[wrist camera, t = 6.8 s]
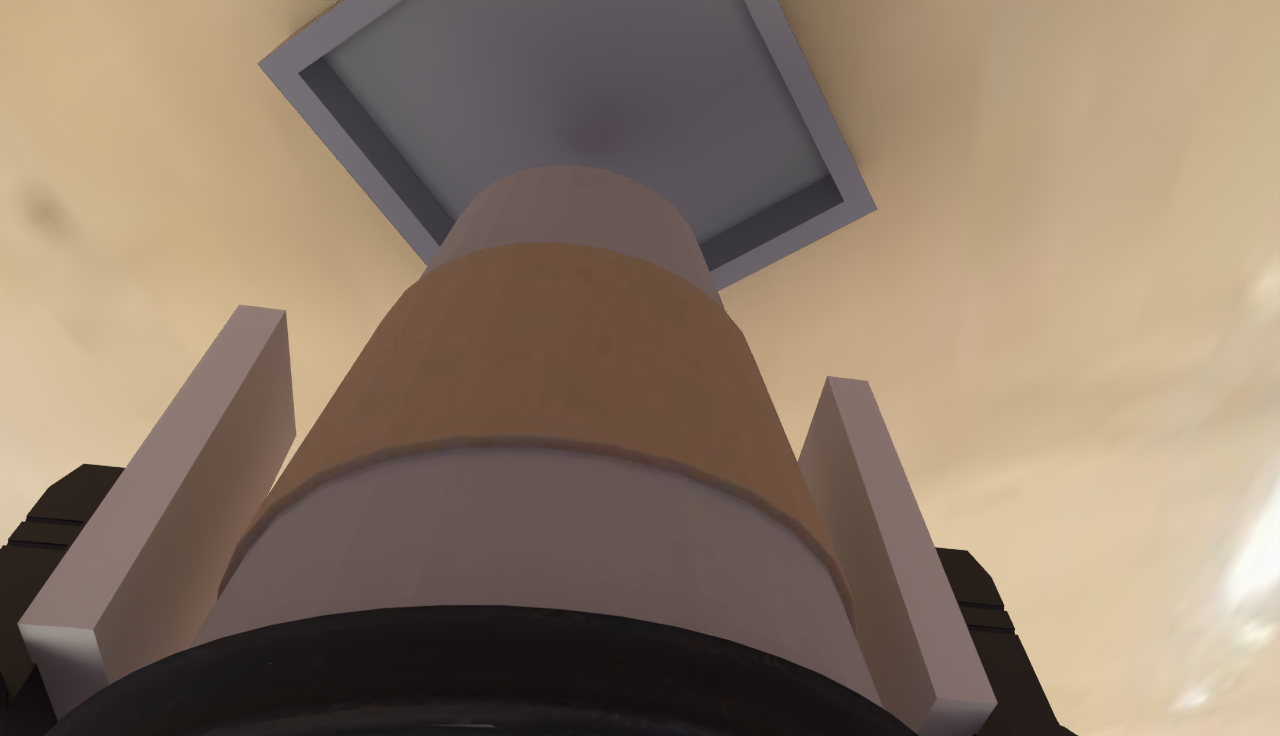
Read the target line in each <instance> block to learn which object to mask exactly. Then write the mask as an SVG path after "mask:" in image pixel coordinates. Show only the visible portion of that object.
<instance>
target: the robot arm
mask: <svg viewBox="0 0 1280 736" xmlns="http://www.w3.org/2000/svg"><path fill="white" fill-rule="evenodd" d="M295 436H296V427H295V415H294V403H293V390H292V378H291V366H290V354H289V342H288V330H287V318H286V310H279V309H270V308H262V307H254V306H246V305H239V306H238V307H237V309H236V310H235V311H234V313H233V314H232V316H231V317H230V319H229V320H228V322H227V323H226V324H225V326H224V327H223V329H222V330H221V332H220V333H219V334H218V336H217V337H216V339H215V340H214V342H213V343H212V345H211V346H210V347H209V349H208V350H207V352H206V353H205V355H204V356H203V357H202V359H201V360H200V362H199V363H198V365H197V366H196V367H195V369H194V370H193V372H192V373H191V375H190V376H189V378H188V379H187V380H186V382H185V383H184V385H183V386H182V388H181V389H180V390H179V392H178V393H177V395H176V396H175V398H174V399H173V401H172V402H171V403H170V405H169V406H168V408H167V409H166V411H165V412H164V413H163V415H162V416H161V418H160V419H159V421H158V422H157V424H156V425H155V426H154V428H153V429H152V431H151V432H150V434H149V435H148V436H147V438H146V439H145V441H144V442H143V444H142V445H141V447H140V448H139V449H138V451H137V452H136V454H135V455H134V457H133V458H132V459H131V461H130V462H129V464H128V465H127V467H126V468H121V467H111V466H101V465H91V464H83V465H81V466H80V467H78V468H77V469H75V470H74V471H72V472H71V473H69V474H68V475H66V476H65V477H63V478H62V479H60V480H59V481H57V482H56V483H54V484H53V485H51V486H50V487H49V488H48V489H47V490H46V492H45V493H44V494H43V495H42V497H41V498H40V499H39V500H38V502H37V503H36V504H35V506H34V507H33V508H32V509H31V511H30V512H29V513H28V515H27V516H26V517H27V518H26V521H25V522H21V523H20V525H19V526H18V527H17V529H16V530H15V531H14V532H13V534H12V535H11V536H10V537H9V539H8V544H7V545H6V546H5V545H3V546H2V548H1V549H0V736H43V735H44V734H46V733H47V732H48V731H49V730H50V729H51V728H52V727H53V726H54V725H55V724H56V723H57V722H59V721H60V720H61V719H62V718H63V717H64V716H65V715H66V714H67V713H69V712H70V711H71V710H73V709H74V708H76V707H77V706H78V705H80V704H81V703H82V702H84V701H85V700H87V699H88V698H89V697H91V696H92V695H93V694H95V693H96V692H98V691H100V690H101V689H103V688H105V687H107V686H108V685H110V684H112V683H114V682H116V681H117V680H119V679H121V678H123V677H124V676H126V675H128V674H130V673H132V672H134V671H136V670H138V669H140V668H143V667H145V666H147V665H150V664H152V663H154V662H156V661H159V660H161V659H163V658H165V657H168V656H170V655H172V654H175V653H178V652H181V651H184V650H187V648H188V647H189V645H190V644H191V642H192V640H193V639H194V637H195V636H196V634H197V632H198V631H199V629H200V628H201V626H202V624H203V623H204V621H205V620H206V618H207V616H208V615H209V613H210V612H211V610H212V608H213V607H214V605H215V604H216V602H217V595H218V587H219V585H220V583H221V580H222V578H223V575H224V573H225V571H226V568H227V566H228V564H229V561H230V559H231V557H232V554H233V552H234V550H235V547H236V545H237V543H238V541H239V539H240V537H241V536H242V534H243V533H244V531H245V530H246V528H247V527H248V525H249V524H250V522H251V521H252V519H253V518H254V516H255V515H256V513H257V511H258V510H259V508H260V507H261V505H262V504H263V502H264V501H265V499H266V497H267V495H268V493H269V491H270V489H271V487H272V485H273V483H274V480H275V478H276V476H277V474H278V472H279V470H280V468H281V466H282V464H283V462H284V459H285V457H286V455H287V453H288V451H289V449H290V447H291V445H292V443H293V441H294V439H295ZM798 465H799V468H800V470H801V472H802V475H803V477H804V480H805V482H806V484H807V487H808V489H809V492H810V494H811V496H812V499H813V501H814V504H815V506H816V509H817V511H818V513H819V516H820V518H821V521H822V523H823V525H824V528H825V530H826V533H827V535H828V537H829V540H830V542H831V545H832V547H833V549H834V552H835V554H836V557H837V559H838V561H839V564H840V566H841V569H842V571H843V573H844V576H845V578H846V581H847V583H848V585H849V588H850V590H851V593H852V595H853V598H854V602H855V614H856V627H857V639H858V645H859V647H860V650H861V652H862V655H863V657H864V660H865V662H866V665H867V667H868V670H869V673H870V675H871V678H872V680H873V683H874V685H875V688H876V690H877V693H878V695H879V698H880V700H881V703H882V706H883V708H884V709H885V710H886V711H888V712H889V713H891V714H893V715H894V716H895V717H896V718H898V719H899V720H900V721H901V722H903V723H904V724H905V725H906V726H908V727H909V728H910V729H911V730H913V731H914V732H915V733H916V734H918V735H919V736H1078V735H1076V734H1074V733H1073V732H1071V731H1070V730H1068V729H1067V728H1065V727H1063V726H1060V724H1059V723H1058V721H1057V719H1056V717H1055V715H1054V713H1053V711H1052V709H1051V706H1050V704H1049V702H1048V700H1047V698H1046V695H1045V693H1044V691H1043V689H1042V687H1041V685H1040V682H1039V680H1038V678H1037V676H1036V674H1035V671H1034V669H1033V667H1032V665H1031V663H1030V660H1029V658H1028V656H1027V654H1026V652H1025V650H1024V647H1023V645H1022V643H1021V641H1020V639H1019V636H1018V635H1015V632H1014V631H1015V628H1014V626H1013V623H1012V621H1011V619H1010V617H1009V615H1008V612H1007V611H1004V604H1003V601H1002V599H1001V597H1000V595H999V593H998V591H997V588H996V586H995V584H994V582H993V580H992V577H991V576H990V575H989V574H988V573H987V572H986V571H985V570H984V568H983V567H982V566H981V565H980V564H979V563H978V562H977V561H976V560H975V558H974V557H973V556H972V555H971V554H970V553H969V552H968V551H966V550H956V549H946V548H936V547H935V546H934V544H933V542H932V539H931V537H930V534H929V532H928V529H927V527H926V524H925V522H924V519H923V517H922V514H921V512H920V509H919V507H918V504H917V502H916V499H915V497H914V494H913V492H912V489H911V487H910V484H909V482H908V479H907V477H906V475H905V472H904V470H903V467H902V465H901V462H900V460H899V457H898V455H897V452H896V450H895V447H894V445H893V442H892V440H891V437H890V435H889V432H888V430H887V427H886V425H885V422H884V420H883V417H882V415H881V412H880V410H879V408H878V405H877V403H876V400H875V398H874V395H873V393H872V390H871V388H870V385H869V383H868V381H864V380H855V379H847V378H839V377H831V376H827V379H826V382H825V385H824V387H823V390H822V393H821V396H820V399H819V402H818V405H817V408H816V411H815V413H814V416H813V419H812V422H811V425H810V428H809V431H808V434H807V437H806V439H805V442H804V445H803V448H802V451H801V454H800V457H799V460H798Z"/></svg>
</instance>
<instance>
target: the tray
mask: <svg viewBox="0 0 1280 736" xmlns="http://www.w3.org/2000/svg"><path fill="white" fill-rule="evenodd" d="M258 65H259V66H260V68H261V69H262V70H263V71H264V72H265V74H266V75H267V76H268V77H269V78H270V80H271V81H272V82H273V83H274V84H275V86H276V87H277V88H278V89H279V90H280V91H281V93H282V94H283V95H284V96H285V97H286V99H287V100H288V101H289V102H290V103H291V105H292V106H293V107H294V108H295V109H296V110H297V112H298V113H299V114H300V115H301V116H302V118H303V119H304V120H305V121H306V122H307V124H308V125H309V126H310V127H311V128H312V130H313V131H314V132H315V133H316V134H317V135H318V137H319V138H320V139H321V140H322V141H323V143H324V144H325V145H326V146H327V147H328V149H329V150H330V151H331V152H332V153H333V155H334V156H335V157H336V158H337V159H338V160H339V162H340V163H341V164H342V165H343V166H344V168H345V169H346V170H347V171H348V172H349V174H350V175H351V176H352V177H353V178H354V179H355V181H356V182H357V183H358V184H359V185H360V187H361V188H362V189H363V190H364V191H365V193H366V194H367V195H368V196H369V197H370V199H371V200H372V201H373V202H374V203H375V204H376V206H377V207H378V208H379V209H380V210H381V212H382V213H383V214H384V215H385V216H386V218H387V219H388V220H389V221H390V222H391V224H392V225H393V226H394V227H395V228H396V229H397V231H398V232H399V233H400V234H401V235H402V237H403V238H404V239H405V240H406V241H407V243H408V244H409V245H410V246H411V247H412V248H413V250H414V251H415V252H416V253H417V254H418V256H419V257H420V258H421V259H422V260H423V262H424V263H425V264H426V265H427V266H428V265H429V263H430V262H431V260H432V259H433V257H434V256H435V254H436V253H437V251H438V249H439V248H440V246H441V245H442V243H443V242H444V240H445V239H446V237H447V235H448V234H449V232H450V231H451V229H452V228H453V226H454V225H455V223H456V221H457V220H458V218H459V217H460V216H461V214H462V213H463V212H464V211H465V209H466V208H467V207H468V206H469V204H470V203H471V202H472V200H473V199H474V198H475V197H476V196H477V195H478V194H480V193H481V192H482V191H483V190H485V189H486V188H487V187H489V186H490V185H491V184H492V183H494V182H495V181H497V180H499V179H501V178H504V177H506V176H508V175H511V174H513V173H515V172H517V171H520V170H525V169H530V168H535V167H540V166H546V165H578V166H584V167H591V168H597V169H603V170H606V171H609V172H612V173H615V174H619V175H622V176H625V177H628V178H630V179H632V180H634V181H636V182H638V183H640V184H642V185H644V186H646V187H648V188H649V189H651V190H653V191H655V192H656V193H657V194H659V195H660V196H661V197H662V198H664V199H665V200H666V201H667V202H669V203H670V204H671V205H673V206H674V207H675V208H676V210H677V211H678V212H679V213H680V215H681V216H682V217H683V218H684V220H685V221H686V222H687V223H688V225H689V226H690V227H691V229H692V231H693V234H694V236H695V238H696V241H697V243H698V245H699V247H700V250H701V252H702V254H703V257H704V259H705V262H706V264H707V267H708V269H709V272H710V274H711V277H712V279H713V281H714V284H715V286H716V289H717V291H719V290H721V289H723V288H725V287H727V286H729V285H731V284H733V283H735V282H737V281H739V280H741V279H743V278H745V277H747V276H748V275H750V274H752V273H754V272H756V271H758V270H760V269H762V268H764V267H766V266H768V265H770V264H772V263H774V262H776V261H778V260H780V259H782V258H783V257H785V256H787V255H789V254H791V253H793V252H795V251H797V250H799V249H801V248H803V247H805V246H807V245H809V244H811V243H813V242H815V241H816V240H818V239H820V238H822V237H824V236H826V235H828V234H830V233H832V232H834V231H836V230H838V229H840V228H842V227H844V226H846V225H848V224H850V223H851V222H853V221H855V220H857V219H859V218H861V217H863V216H865V215H867V214H869V213H871V212H873V211H875V210H877V208H876V206H875V203H874V201H873V199H872V197H871V195H870V193H869V191H868V189H867V187H866V185H865V183H864V180H863V178H862V176H861V174H860V172H859V170H858V168H857V166H856V164H855V162H854V160H853V157H852V155H851V153H850V151H849V149H848V147H847V145H846V143H845V141H844V139H843V136H842V134H841V132H840V130H839V128H838V126H837V124H836V122H835V120H834V118H833V116H832V113H831V111H830V109H829V107H828V105H827V103H826V101H825V99H824V97H823V95H822V93H821V90H820V88H819V86H818V84H817V82H816V80H815V78H814V76H813V74H812V72H811V70H810V67H809V65H808V63H807V61H806V59H805V57H804V55H803V53H802V51H801V49H800V47H799V44H798V42H797V40H796V38H795V36H794V34H793V32H792V30H791V28H790V26H789V24H788V21H787V19H786V17H785V15H784V13H783V11H782V9H781V7H780V5H779V3H778V0H340V1H338V2H337V3H336V4H334V5H333V6H331V7H330V8H329V9H327V10H326V11H324V12H323V13H322V14H320V15H319V16H318V17H316V18H315V19H313V20H312V21H311V22H309V23H308V24H306V25H305V26H304V27H302V28H301V29H299V30H298V31H297V32H295V33H294V34H293V35H291V36H290V37H289V38H287V39H286V40H285V41H284V42H283V43H281V44H280V45H279V46H278V47H277V48H276V49H274V50H273V51H272V52H271V53H270V54H268V55H267V56H266V57H265V58H264V59H262V60H261V61H260V62H259V63H258Z"/></svg>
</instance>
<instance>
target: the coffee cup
mask: <svg viewBox="0 0 1280 736" xmlns="http://www.w3.org/2000/svg"><path fill="white" fill-rule="evenodd" d="M43 736H919V735H918V734H916V733H915V732H914V731H913V730H911V729H910V728H909V727H908V726H906V725H905V724H904V723H903V722H901V721H900V720H899V719H898V718H896V717H895V716H894V715H893V714H891V713H889V712H888V711H886V710H885V709H884V708H883V706H882V703H881V700H880V698H879V695H878V693H877V690H876V688H875V685H874V683H873V680H872V678H871V675H870V673H869V670H868V667H867V665H866V662H865V660H864V657H863V655H862V652H861V650H860V647H859V645H858V639H857V627H856V614H855V602H854V598H853V595H852V593H851V590H850V588H849V585H848V583H847V581H846V578H845V576H844V573H843V571H842V569H841V566H840V564H839V561H838V559H837V557H836V554H835V552H834V549H833V547H832V545H831V542H830V540H829V537H828V535H827V533H826V530H825V528H824V525H823V523H822V521H821V518H820V516H819V513H818V511H817V509H816V506H815V504H814V501H813V499H812V496H811V494H810V492H809V489H808V487H807V484H806V482H805V480H804V477H803V475H802V472H801V470H800V468H799V465H798V463H797V460H796V458H795V456H794V453H793V451H792V448H791V446H790V444H789V441H788V439H787V436H786V434H785V432H784V429H783V427H782V424H781V422H780V420H779V417H778V415H777V412H776V410H775V407H774V405H773V403H772V400H771V398H770V395H769V393H768V391H767V388H766V386H765V383H764V381H763V379H762V376H761V374H760V371H759V369H758V367H757V364H756V362H755V360H754V357H753V355H752V353H751V350H750V348H749V346H748V344H747V341H746V339H745V337H744V334H743V333H742V331H741V330H740V329H739V328H738V326H737V325H736V324H735V323H734V322H733V320H732V319H731V318H730V317H729V316H728V314H727V313H726V311H725V308H724V306H723V304H722V301H721V299H720V296H719V294H718V291H717V289H716V286H715V284H714V281H713V279H712V277H711V274H710V272H709V269H708V267H707V264H706V262H705V259H704V257H703V254H702V252H701V250H700V247H699V245H698V243H697V241H696V238H695V236H694V234H693V231H692V229H691V227H690V226H689V225H688V223H687V222H686V221H685V220H684V218H683V217H682V216H681V215H680V213H679V212H678V211H677V210H676V208H675V207H674V206H673V205H671V204H670V203H669V202H667V201H666V200H665V199H664V198H662V197H661V196H660V195H659V194H657V193H656V192H655V191H653V190H651V189H649V188H648V187H646V186H644V185H642V184H640V183H638V182H636V181H634V180H632V179H630V178H628V177H625V176H622V175H619V174H615V173H612V172H609V171H606V170H603V169H597V168H591V167H584V166H578V165H546V166H540V167H535V168H530V169H525V170H520V171H517V172H515V173H513V174H511V175H508V176H506V177H504V178H501V179H499V180H497V181H495V182H494V183H492V184H491V185H490V186H489V187H487V188H486V189H485V190H483V191H482V192H481V193H480V194H478V195H477V196H476V197H475V198H474V199H473V200H472V202H471V203H470V204H469V206H468V207H467V208H466V209H465V211H464V212H463V213H462V214H461V216H460V217H459V218H458V220H457V221H456V223H455V225H454V226H453V228H452V229H451V231H450V232H449V234H448V235H447V237H446V239H445V240H444V242H443V243H442V245H441V246H440V248H439V249H438V251H437V253H436V254H435V256H434V257H433V259H432V260H431V262H430V263H429V265H428V267H427V268H426V270H425V271H424V273H423V274H422V276H421V278H420V279H419V281H417V282H416V283H415V284H413V285H412V286H411V287H409V288H408V289H407V290H406V291H405V292H404V293H403V295H402V296H401V297H400V298H399V300H398V301H397V302H396V303H395V305H394V306H393V307H392V308H391V310H390V311H389V312H388V313H387V315H386V316H385V317H384V319H383V320H382V321H381V323H380V324H379V326H378V328H377V329H376V331H375V332H374V334H373V335H372V337H371V338H370V340H369V341H368V343H367V344H366V346H365V347H364V349H363V351H362V352H361V354H360V355H359V357H358V358H357V360H356V361H355V363H354V364H353V366H352V367H351V369H350V370H349V372H348V374H347V375H346V377H345V378H344V380H343V381H342V383H341V384H340V386H339V387H338V389H337V390H336V392H335V393H334V395H333V397H332V398H331V400H330V401H329V403H328V404H327V406H326V407H325V409H324V410H323V412H322V413H321V415H320V416H319V418H318V419H317V421H316V423H315V424H314V426H313V427H312V429H311V430H310V432H309V433H308V435H307V436H306V438H305V439H304V441H303V442H302V444H301V446H300V447H299V449H298V450H297V452H296V453H295V455H294V456H293V458H292V459H291V461H290V462H289V464H288V465H287V467H286V469H285V470H284V472H283V473H282V475H281V476H280V478H279V479H278V481H277V482H276V484H275V485H274V487H273V488H272V490H271V492H270V493H269V495H268V496H267V498H266V499H265V501H264V502H263V504H262V505H261V507H260V508H259V510H258V511H257V513H256V515H255V516H254V518H253V519H252V521H251V522H250V524H249V525H248V527H247V528H246V530H245V531H244V533H243V534H242V536H241V537H240V539H239V541H238V543H237V545H236V547H235V550H234V552H233V554H232V557H231V559H230V561H229V564H228V566H227V568H226V571H225V573H224V575H223V578H222V580H221V583H220V585H219V587H218V595H217V602H216V604H215V605H214V607H213V608H212V610H211V612H210V613H209V615H208V616H207V618H206V620H205V621H204V623H203V624H202V626H201V628H200V629H199V631H198V632H197V634H196V636H195V637H194V639H193V640H192V642H191V644H190V645H189V647H188V648H187V650H184V651H181V652H178V653H175V654H172V655H170V656H168V657H165V658H163V659H161V660H159V661H156V662H154V663H152V664H150V665H147V666H145V667H143V668H140V669H138V670H136V671H134V672H132V673H130V674H128V675H126V676H124V677H123V678H121V679H119V680H117V681H116V682H114V683H112V684H110V685H108V686H107V687H105V688H103V689H101V690H100V691H98V692H96V693H95V694H93V695H92V696H91V697H89V698H88V699H87V700H85V701H84V702H82V703H81V704H80V705H78V706H77V707H76V708H74V709H73V710H71V711H70V712H69V713H67V714H66V715H65V716H64V717H63V718H62V719H61V720H60V721H59V722H57V723H56V724H55V725H54V726H53V727H52V728H51V729H50V730H49V731H48V732H47V733H46V734H44V735H43Z"/></svg>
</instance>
